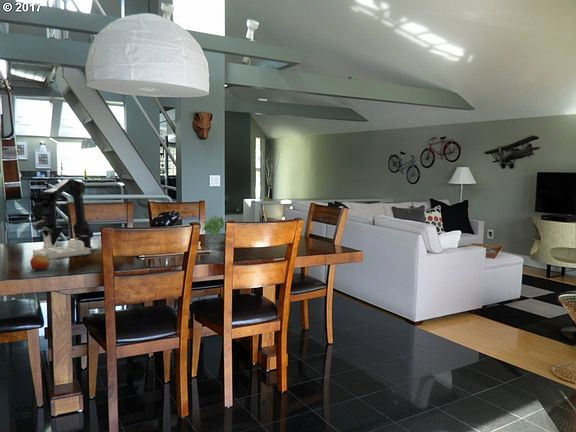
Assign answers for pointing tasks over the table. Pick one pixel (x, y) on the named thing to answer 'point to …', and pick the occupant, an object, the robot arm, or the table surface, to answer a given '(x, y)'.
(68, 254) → the carton
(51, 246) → the egg
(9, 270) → the table surface
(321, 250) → the table surface
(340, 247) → the table surface
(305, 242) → the table surface
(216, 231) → the plant cuttings
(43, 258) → the fruit
